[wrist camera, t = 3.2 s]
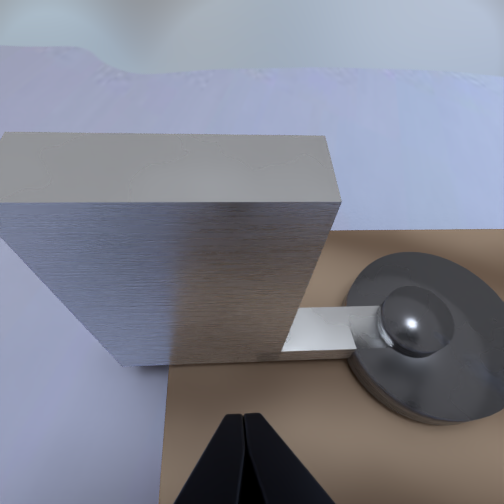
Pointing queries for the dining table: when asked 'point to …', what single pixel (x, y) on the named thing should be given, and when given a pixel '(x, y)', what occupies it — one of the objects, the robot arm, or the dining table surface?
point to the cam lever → (240, 265)
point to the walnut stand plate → (347, 397)
